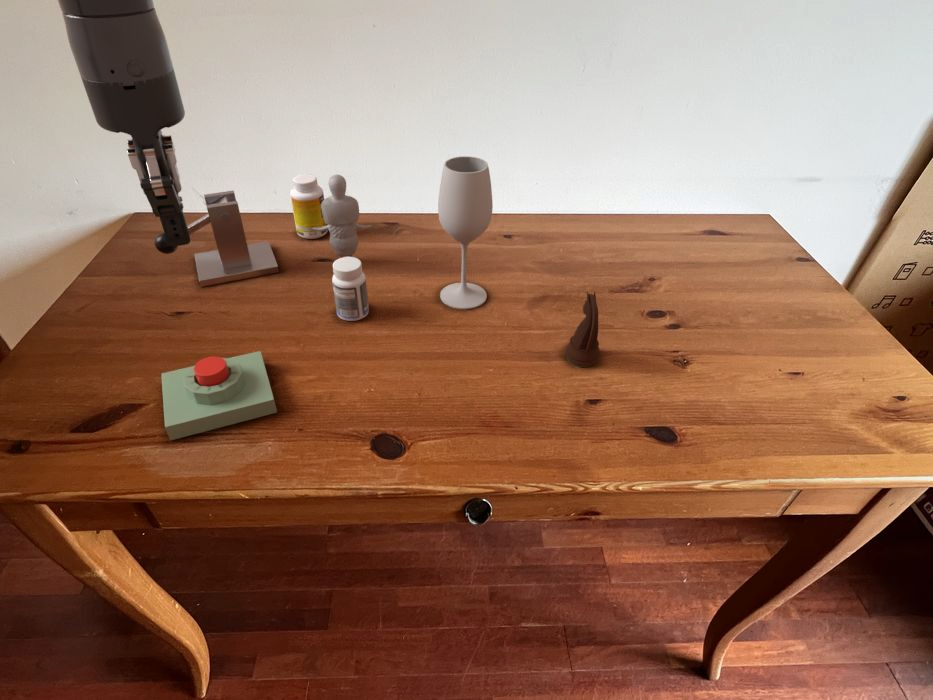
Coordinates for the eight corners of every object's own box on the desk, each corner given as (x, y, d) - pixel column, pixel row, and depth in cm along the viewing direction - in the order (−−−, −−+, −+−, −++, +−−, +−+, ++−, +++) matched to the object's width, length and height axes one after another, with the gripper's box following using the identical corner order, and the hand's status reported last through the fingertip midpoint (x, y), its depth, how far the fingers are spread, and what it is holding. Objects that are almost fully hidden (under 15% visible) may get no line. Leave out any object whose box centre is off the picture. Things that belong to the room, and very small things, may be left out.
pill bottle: (356, 300, 92) (351, 251, 87) (375, 313, 90) (371, 263, 84) (330, 312, 90) (323, 262, 84) (349, 326, 87) (343, 276, 82)
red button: (198, 390, 70) (195, 378, 69) (196, 371, 73) (192, 360, 72) (231, 382, 72) (227, 371, 71) (227, 364, 74) (224, 353, 73)
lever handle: (164, 261, 92) (150, 245, 90) (164, 251, 95) (149, 236, 93) (238, 217, 93) (225, 201, 91) (236, 209, 95) (223, 192, 93)
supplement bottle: (329, 238, 107) (321, 183, 101) (297, 241, 106) (287, 186, 100) (327, 224, 112) (320, 171, 105) (296, 227, 111) (287, 173, 104)
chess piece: (593, 345, 85) (605, 285, 78) (603, 369, 81) (616, 307, 74) (561, 347, 84) (570, 286, 78) (569, 370, 80) (580, 308, 74)
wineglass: (434, 307, 91) (432, 173, 78) (444, 280, 97) (443, 152, 84) (484, 312, 90) (490, 178, 77) (490, 285, 96) (497, 156, 83)
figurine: (374, 253, 103) (367, 169, 94) (375, 265, 100) (368, 179, 91) (318, 256, 102) (305, 171, 93) (317, 268, 99) (303, 181, 90)
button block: (170, 440, 69) (160, 415, 67) (166, 386, 76) (156, 362, 74) (277, 412, 73) (271, 388, 71) (263, 363, 80) (257, 339, 78)
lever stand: (200, 287, 94) (180, 217, 87) (196, 260, 101) (176, 193, 93) (279, 272, 98) (265, 204, 91) (269, 247, 105) (256, 181, 97)
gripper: (83, 53, 57) (140, 221, 68) (73, 91, 48) (142, 280, 58) (169, 48, 59) (211, 211, 70) (176, 83, 50) (223, 265, 61)
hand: (179, 242), depth 64 cm, fingers closed
